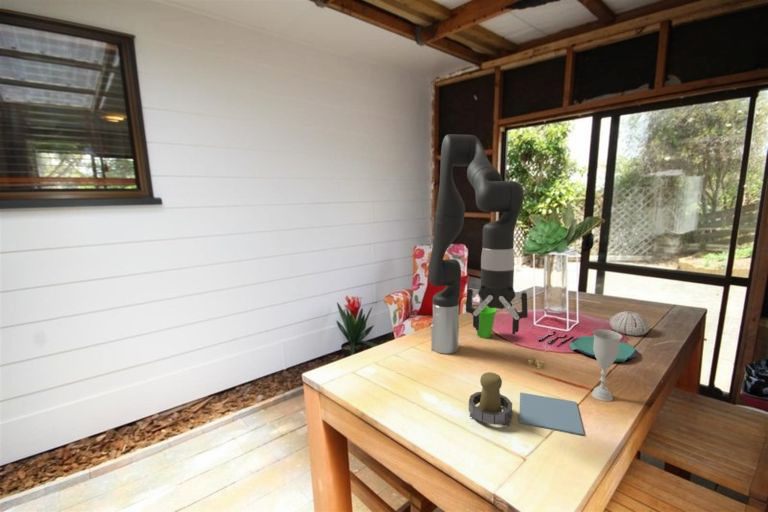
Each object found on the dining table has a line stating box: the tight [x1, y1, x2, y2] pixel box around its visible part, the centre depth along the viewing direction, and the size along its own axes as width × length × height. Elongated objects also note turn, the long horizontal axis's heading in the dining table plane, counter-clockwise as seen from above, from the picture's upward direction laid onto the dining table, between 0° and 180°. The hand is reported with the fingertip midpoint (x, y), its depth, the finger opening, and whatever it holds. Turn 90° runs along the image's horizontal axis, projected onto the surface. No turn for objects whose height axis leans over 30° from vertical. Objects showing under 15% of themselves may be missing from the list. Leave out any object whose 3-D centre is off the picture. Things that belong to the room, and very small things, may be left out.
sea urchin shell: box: [608, 310, 650, 337], centre depth 143 cm, size 13×14×8 cm
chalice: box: [590, 328, 623, 402], centre depth 97 cm, size 7×7×18 cm
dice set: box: [527, 355, 545, 369], centre depth 118 cm, size 5×5×2 cm
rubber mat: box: [518, 392, 585, 437], centre depth 91 cm, size 14×14×1 cm
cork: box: [478, 371, 503, 413], centre depth 90 cm, size 6×6×11 cm
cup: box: [473, 306, 498, 339], centre depth 141 cm, size 9×9×11 cm
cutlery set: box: [537, 332, 637, 363], centre depth 130 cm, size 20×30×2 cm, turn 41°
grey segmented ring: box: [468, 391, 513, 427], centre depth 91 cm, size 10×10×4 cm
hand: (495, 331), depth 87 cm, fingers open, 8 cm apart
